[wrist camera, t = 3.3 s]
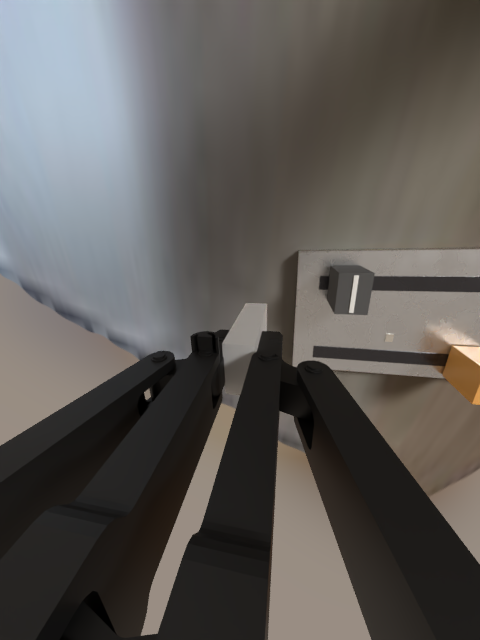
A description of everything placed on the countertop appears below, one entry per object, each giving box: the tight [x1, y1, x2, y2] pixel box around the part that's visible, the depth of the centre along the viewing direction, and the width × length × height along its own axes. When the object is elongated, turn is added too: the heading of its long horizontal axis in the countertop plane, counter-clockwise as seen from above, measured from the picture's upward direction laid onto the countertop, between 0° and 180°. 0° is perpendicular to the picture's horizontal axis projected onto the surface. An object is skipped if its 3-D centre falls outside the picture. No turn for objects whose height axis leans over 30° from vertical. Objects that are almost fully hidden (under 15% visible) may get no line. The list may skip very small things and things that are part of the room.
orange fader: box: [442, 346, 480, 405], centre depth 25 cm, size 4×3×5 cm
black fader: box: [327, 265, 375, 315], centre depth 24 cm, size 4×3×5 cm
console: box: [292, 248, 480, 378], centre depth 27 cm, size 15×28×2 cm, turn 91°
